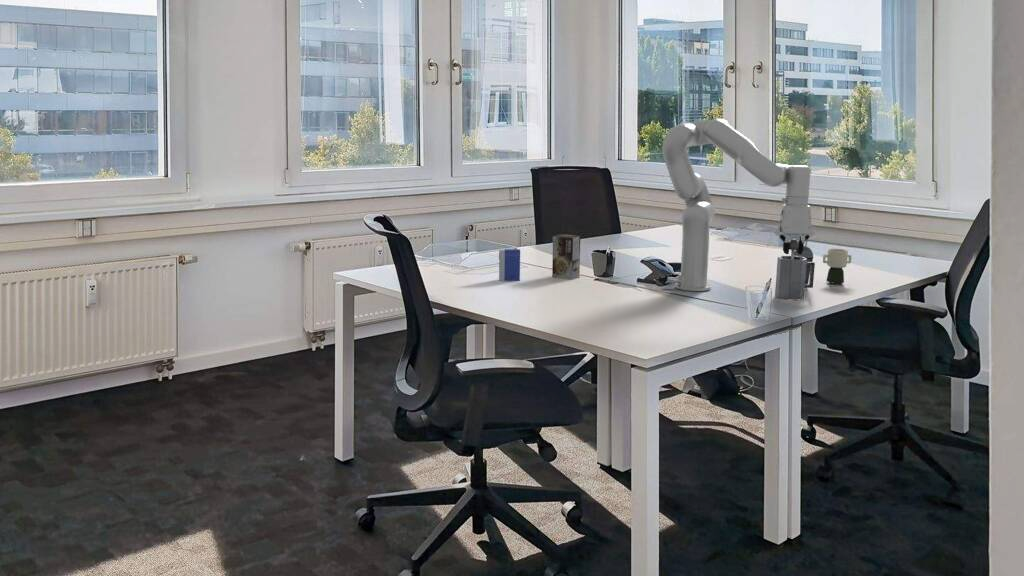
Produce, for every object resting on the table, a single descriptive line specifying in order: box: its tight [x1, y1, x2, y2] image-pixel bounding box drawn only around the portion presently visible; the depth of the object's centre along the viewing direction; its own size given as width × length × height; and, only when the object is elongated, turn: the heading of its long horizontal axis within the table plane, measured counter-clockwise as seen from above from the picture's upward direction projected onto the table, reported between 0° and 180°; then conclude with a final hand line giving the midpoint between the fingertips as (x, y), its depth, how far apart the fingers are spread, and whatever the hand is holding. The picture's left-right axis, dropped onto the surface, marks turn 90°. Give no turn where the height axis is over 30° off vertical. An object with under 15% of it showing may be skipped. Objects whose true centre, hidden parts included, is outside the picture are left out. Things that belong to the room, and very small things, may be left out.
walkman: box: [498, 247, 521, 282], centre depth 344 cm, size 8×3×12 cm, turn 94°
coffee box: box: [551, 233, 581, 280], centre depth 352 cm, size 9×6×16 cm
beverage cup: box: [794, 238, 814, 284], centre depth 338 cm, size 7×7×20 cm
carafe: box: [774, 255, 816, 300], centre depth 322 cm, size 13×9×14 cm
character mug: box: [822, 248, 852, 285], centre depth 347 cm, size 11×7×13 cm, turn 93°
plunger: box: [788, 238, 800, 260], centre depth 321 cm, size 6×6×20 cm
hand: (792, 253), depth 320 cm, fingers closed on plunger, 4 cm apart
